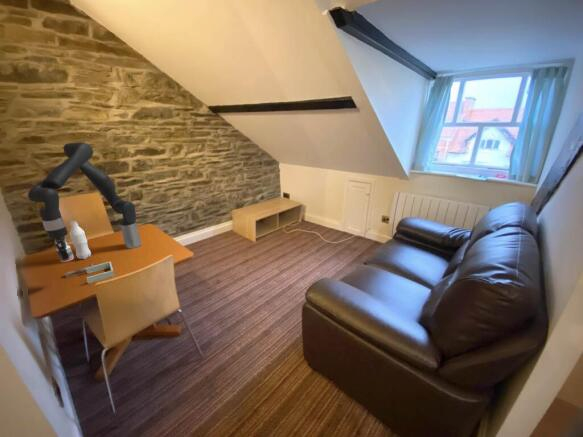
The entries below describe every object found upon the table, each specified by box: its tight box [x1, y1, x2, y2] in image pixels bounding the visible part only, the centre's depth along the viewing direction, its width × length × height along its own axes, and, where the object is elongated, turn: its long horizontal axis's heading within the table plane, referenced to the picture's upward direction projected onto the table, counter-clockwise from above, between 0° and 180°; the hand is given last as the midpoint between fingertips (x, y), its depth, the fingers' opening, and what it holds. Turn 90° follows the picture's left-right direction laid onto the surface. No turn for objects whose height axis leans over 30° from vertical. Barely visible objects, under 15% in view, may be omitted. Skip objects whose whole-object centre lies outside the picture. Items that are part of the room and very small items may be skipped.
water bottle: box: [69, 220, 92, 260], centre depth 151 cm, size 7×7×25 cm
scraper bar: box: [64, 262, 95, 279], centre depth 139 cm, size 13×6×3 cm, turn 130°
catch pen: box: [85, 261, 116, 284], centre depth 138 cm, size 12×13×4 cm
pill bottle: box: [55, 241, 75, 263], centre depth 125 cm, size 5×5×10 cm
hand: (66, 256), depth 126 cm, fingers closed on pill bottle, 5 cm apart
